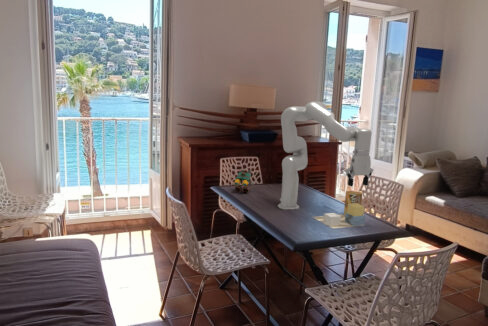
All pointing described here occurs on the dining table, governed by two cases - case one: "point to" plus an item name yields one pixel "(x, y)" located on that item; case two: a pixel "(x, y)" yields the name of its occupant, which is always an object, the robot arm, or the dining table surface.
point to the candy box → (352, 198)
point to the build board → (342, 222)
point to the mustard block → (355, 209)
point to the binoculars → (245, 178)
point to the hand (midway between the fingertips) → (357, 185)
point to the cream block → (332, 219)
